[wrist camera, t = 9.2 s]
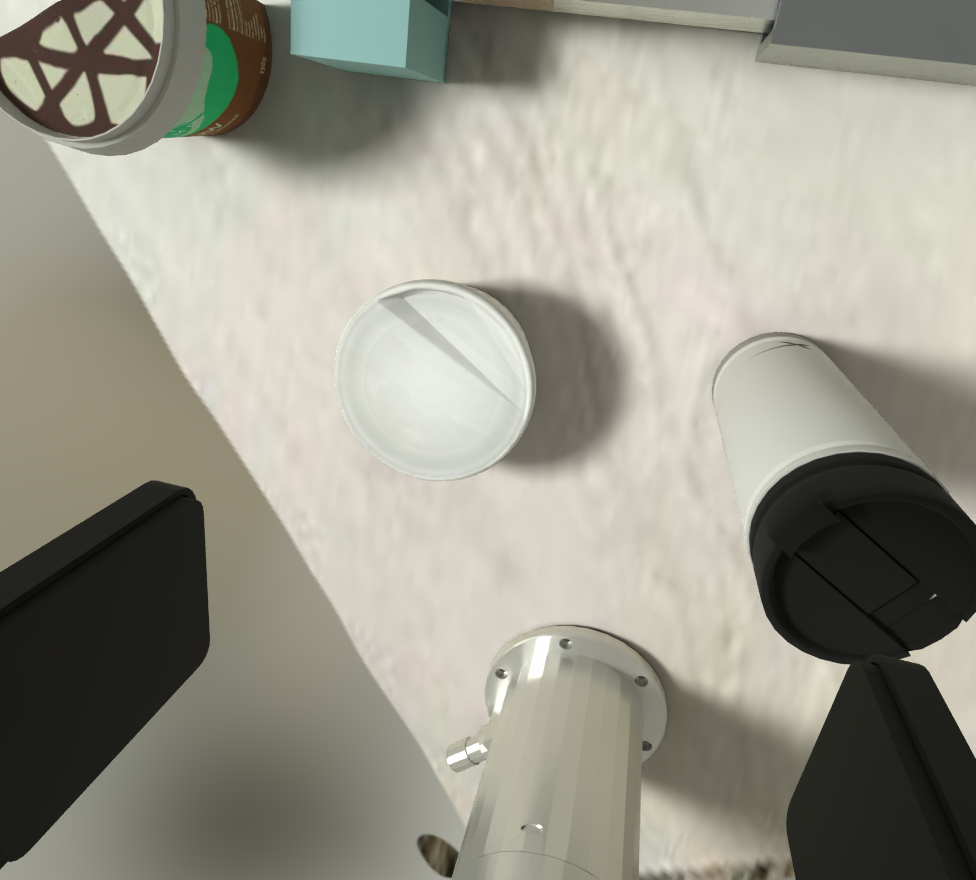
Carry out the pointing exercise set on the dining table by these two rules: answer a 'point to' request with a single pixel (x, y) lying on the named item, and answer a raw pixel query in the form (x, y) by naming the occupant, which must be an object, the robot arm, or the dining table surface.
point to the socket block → (374, 36)
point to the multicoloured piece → (664, 11)
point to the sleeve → (877, 38)
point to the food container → (135, 71)
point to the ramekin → (435, 379)
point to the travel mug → (838, 509)
